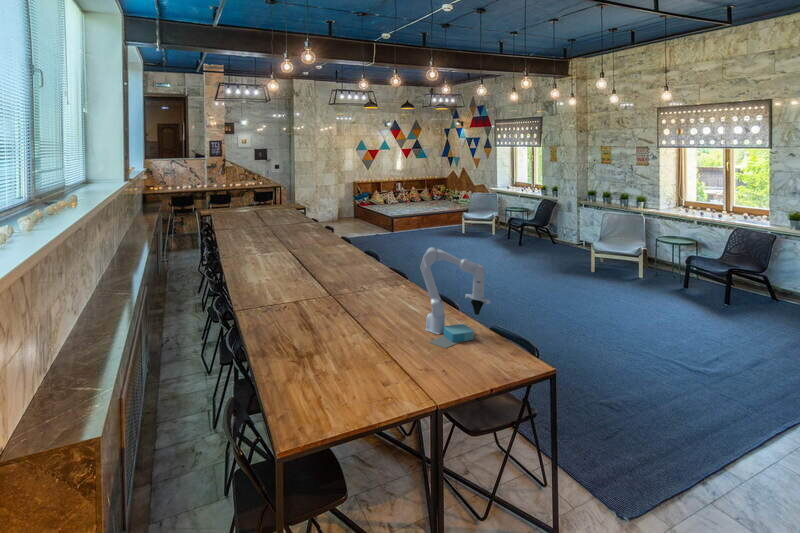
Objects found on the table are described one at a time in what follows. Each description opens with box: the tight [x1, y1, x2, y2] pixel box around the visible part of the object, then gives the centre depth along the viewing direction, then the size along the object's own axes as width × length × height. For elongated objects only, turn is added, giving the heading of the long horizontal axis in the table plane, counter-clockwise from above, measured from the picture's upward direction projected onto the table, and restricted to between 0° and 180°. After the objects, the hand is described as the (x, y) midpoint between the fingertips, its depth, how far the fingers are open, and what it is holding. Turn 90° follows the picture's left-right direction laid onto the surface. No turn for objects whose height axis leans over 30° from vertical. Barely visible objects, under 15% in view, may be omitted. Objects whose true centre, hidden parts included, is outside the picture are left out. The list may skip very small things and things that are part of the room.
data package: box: [443, 323, 475, 343], centre depth 252 cm, size 12×4×12 cm
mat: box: [428, 334, 476, 349], centre depth 251 cm, size 11×24×1 cm, turn 136°
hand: (477, 314), depth 256 cm, fingers closed
